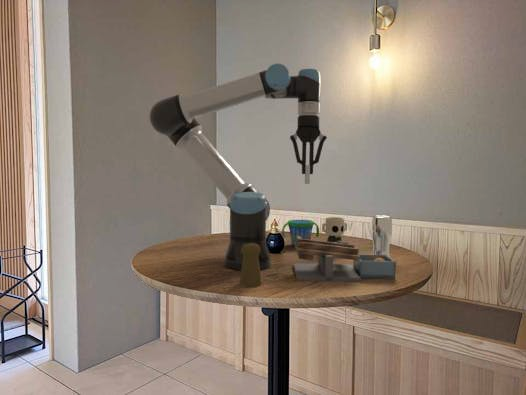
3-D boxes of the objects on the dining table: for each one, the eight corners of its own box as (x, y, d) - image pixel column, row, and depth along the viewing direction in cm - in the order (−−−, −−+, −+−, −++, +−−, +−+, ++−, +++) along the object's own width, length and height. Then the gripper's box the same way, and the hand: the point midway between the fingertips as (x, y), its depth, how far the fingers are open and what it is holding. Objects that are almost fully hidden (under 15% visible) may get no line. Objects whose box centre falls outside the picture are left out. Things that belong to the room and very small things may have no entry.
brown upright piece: (261, 280, 111) (261, 241, 110) (261, 286, 105) (262, 246, 104) (239, 280, 111) (240, 241, 110) (239, 286, 105) (239, 245, 104)
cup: (359, 278, 115) (360, 261, 115) (353, 270, 124) (353, 254, 124) (395, 278, 115) (395, 261, 114) (385, 270, 124) (386, 254, 124)
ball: (385, 274, 117) (372, 270, 117) (382, 270, 121) (369, 267, 121) (389, 261, 117) (376, 257, 117) (385, 258, 121) (373, 254, 121)
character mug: (326, 254, 146) (327, 219, 145) (317, 250, 153) (317, 217, 152) (351, 252, 150) (352, 218, 149) (341, 249, 157) (342, 216, 156)
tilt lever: (296, 260, 113) (298, 240, 113) (292, 246, 133) (294, 230, 133) (358, 267, 113) (361, 248, 113) (345, 252, 133) (347, 236, 133)
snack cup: (283, 248, 158) (284, 222, 157) (279, 243, 168) (280, 219, 167) (322, 247, 159) (322, 222, 158) (315, 243, 170) (316, 219, 169)
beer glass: (392, 261, 137) (393, 218, 136) (371, 260, 139) (372, 217, 137) (389, 256, 144) (391, 216, 143) (370, 255, 145) (371, 215, 144)
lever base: (297, 280, 112) (297, 255, 111) (293, 266, 128) (294, 245, 127) (360, 281, 112) (361, 256, 111) (349, 267, 127) (350, 245, 127)
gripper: (290, 113, 133) (289, 183, 135) (329, 114, 133) (327, 184, 135) (289, 116, 141) (288, 183, 143) (325, 117, 141) (324, 183, 142)
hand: (307, 183), depth 139 cm, fingers closed
